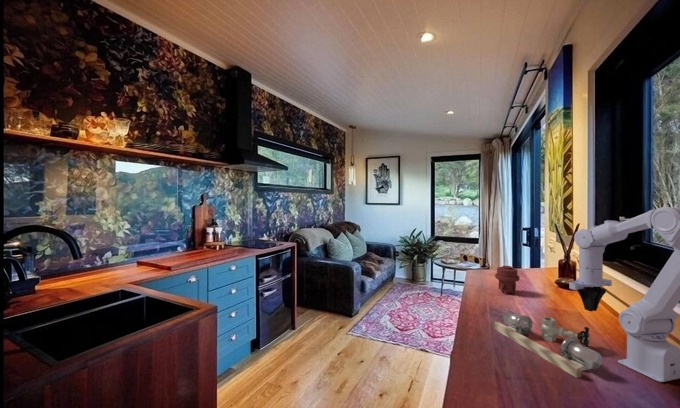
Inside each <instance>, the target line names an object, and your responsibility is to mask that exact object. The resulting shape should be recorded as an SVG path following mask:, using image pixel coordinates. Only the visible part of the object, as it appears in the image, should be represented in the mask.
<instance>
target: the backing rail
mask: <svg viewBox="0 0 680 408" xmlns="http://www.w3.org/2000/svg"><path fill="white" fill-rule="evenodd" d="M493 330H494V331H496V332H498V333H500V334H501V335H503V336H505V337H507V338H508V339H510V340H512V341H513V342H514V343H517V344H518V345H520V346H522V347H523V348H525V349H527V350H529V351H531V352H532V353H534V354H536V355H537V356H538V357H541V358H542V359H544V360H546V362H547V361H548V362H549V363H551V364H553V365H554V366H556V367H557V368H559V369H561V370H563V371H564V372H566V373H567V374H569V375H571V376H573V377H575V378H576V379H578V378H582V371H581V367H580V366H578V365H576V364H574V363H573V362H571V361H570V360H569V359H566V358H565V357H563V356H561V354H560V355H559V354H558V353H557V352H554V351H553V350H550V349H549V348H547V347H545V346H543V345H541V344H540V343H537V342H536V341H534V340H533V339H530V338H529V337H527V336H525V335H524V334H521V333H518V332H516V331H514V330H512V329H510V328H509V327H508V326H506V325H505V324H504V323H501V322H500V321H493Z"/></svg>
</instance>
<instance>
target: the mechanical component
mask: <svg viewBox="0 0 680 408" xmlns="http://www.w3.org/2000/svg"><path fill="white" fill-rule="evenodd" d="M494 278H495V279H496V280H497V281H498V289H499V290H500V291H501V292H503V294H504V295H511V294H512V295H513V294H516V290H517V282H519V281H521V280H520V275H518V269H517V268H515V267H512V266H511V265H502V266H498V267H497V268H496V273H495V274H494Z"/></svg>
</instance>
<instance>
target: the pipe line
mask: <svg viewBox="0 0 680 408" xmlns="http://www.w3.org/2000/svg"><path fill="white" fill-rule="evenodd" d="M502 319H503V321H504V323H505V324H507V325H508V326H507V327H509V328H510V329H512V330H514V331H516V332H518V333H520V334H521V335H527V334H529V333H530V332H531V331H532V330H533V320H532V319H531V317H530V316H528V315H524V314H523V315H520V314H517V313H516V312H513V311H511V310H507V311H505V312H504V314H503V316H502ZM559 348H560V353H561V354H560V355H562V357H563V358H565V359H567V360H569V361H571V362H573V363H574V364H576V365H578V366H580V367H581V372H584V371H588V370H597V369H598V368H600V366H601V364H602V362H603V357H602V355H601V354H600V352H597V351H595V350H594V349H591V348H590V347H589V348H587V347H585V345H583V344H581V343H580V341H579V340H578V338H577V339H576V337H574V338H573V337H568V336H567V337H565V338H564V339H563V341H562V342H561V344H560V347H559Z"/></svg>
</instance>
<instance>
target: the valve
mask: <svg viewBox="0 0 680 408" xmlns="http://www.w3.org/2000/svg"><path fill="white" fill-rule="evenodd" d="M541 323H542V324H541V325H540V330H541V338H542V339H543V340H544V341H547V342H551V343H552V342H556V341H557V336H558V337H560V338H564V337H565V336H566V337H567V338H568V337H573V338H577V340H578V341H579V343H580V344H581V345H583V346H585V347H587V348H589V349H590V346H589V345H590V327H588V326H584V330H581V331H580V332H577V333H575V332H574V331H571V330H568V331H566V329H564V327H562V326H557V320H556V319H555V318H553V317H549V316H543V317H541Z"/></svg>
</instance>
